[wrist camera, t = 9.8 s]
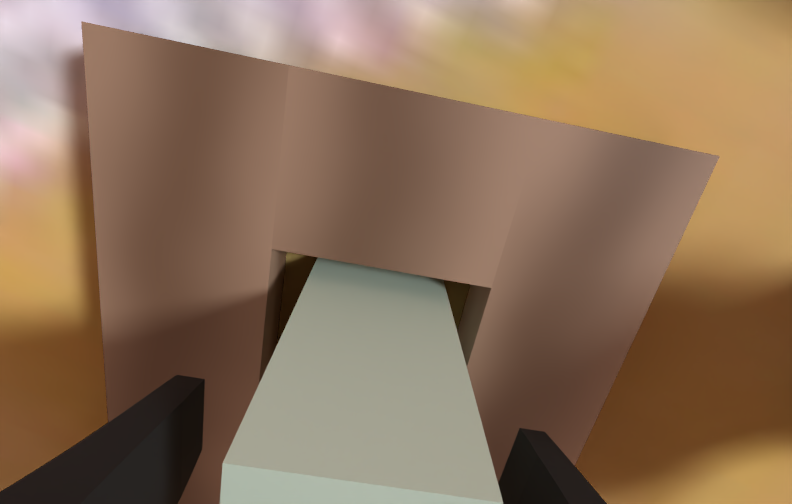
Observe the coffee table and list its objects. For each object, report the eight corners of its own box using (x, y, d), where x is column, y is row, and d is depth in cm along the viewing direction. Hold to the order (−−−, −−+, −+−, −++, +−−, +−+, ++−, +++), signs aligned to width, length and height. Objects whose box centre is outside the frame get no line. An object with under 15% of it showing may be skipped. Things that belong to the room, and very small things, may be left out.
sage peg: (442, 275, 13) (502, 503, 6) (415, 375, 15) (438, 660, 7) (319, 252, 13) (222, 463, 6) (304, 357, 15) (210, 636, 7)
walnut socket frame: (669, 146, 12) (719, 156, 10) (516, 508, 17) (531, 559, 15) (135, 33, 11) (81, 21, 9) (145, 458, 16) (113, 506, 14)
